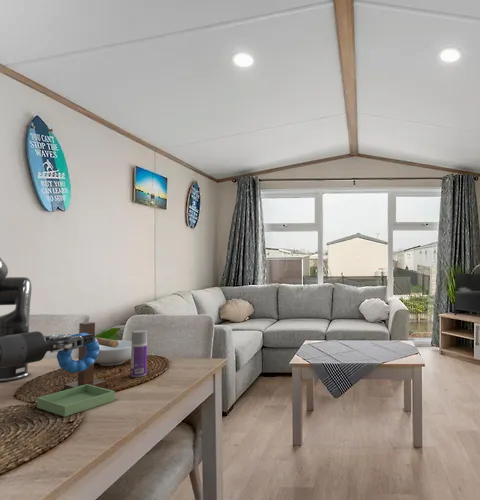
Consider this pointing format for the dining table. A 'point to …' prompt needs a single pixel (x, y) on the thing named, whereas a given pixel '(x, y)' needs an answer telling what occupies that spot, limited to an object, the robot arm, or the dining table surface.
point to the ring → (80, 365)
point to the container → (139, 353)
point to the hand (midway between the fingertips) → (90, 337)
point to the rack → (88, 374)
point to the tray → (75, 399)
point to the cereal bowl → (114, 353)
